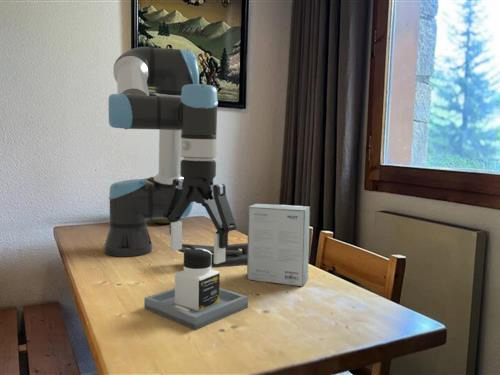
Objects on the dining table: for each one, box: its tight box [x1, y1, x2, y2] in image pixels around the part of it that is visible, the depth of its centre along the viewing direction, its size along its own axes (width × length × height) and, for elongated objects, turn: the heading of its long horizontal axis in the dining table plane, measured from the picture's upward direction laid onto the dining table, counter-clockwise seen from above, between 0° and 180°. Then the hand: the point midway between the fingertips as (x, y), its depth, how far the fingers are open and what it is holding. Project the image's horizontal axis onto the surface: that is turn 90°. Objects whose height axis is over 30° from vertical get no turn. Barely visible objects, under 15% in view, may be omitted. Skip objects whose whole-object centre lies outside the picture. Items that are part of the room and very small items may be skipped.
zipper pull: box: [177, 242, 248, 268], centre depth 132 cm, size 9×7×25 cm
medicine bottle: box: [174, 248, 221, 312], centre depth 97 cm, size 7×7×12 cm
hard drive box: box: [246, 203, 311, 287], centre depth 118 cm, size 16×8×20 cm, turn 71°
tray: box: [144, 287, 249, 331], centre depth 97 cm, size 16×16×2 cm
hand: (196, 256), depth 97 cm, fingers open, 13 cm apart
